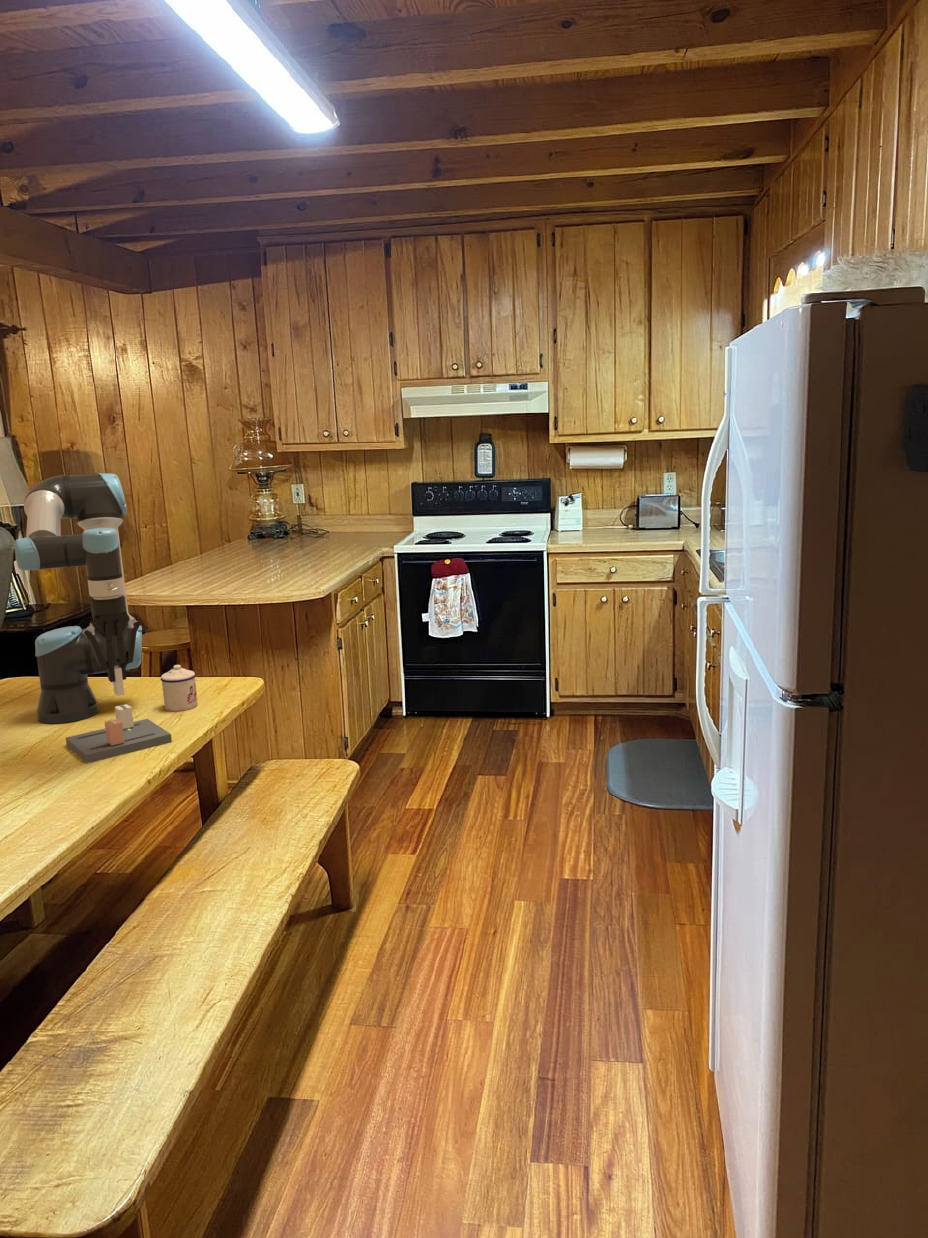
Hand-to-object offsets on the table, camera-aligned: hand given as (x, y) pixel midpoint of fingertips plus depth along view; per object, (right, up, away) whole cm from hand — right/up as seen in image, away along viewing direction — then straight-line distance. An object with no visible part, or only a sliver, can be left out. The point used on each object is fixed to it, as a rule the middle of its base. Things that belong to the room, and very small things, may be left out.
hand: (119, 693), depth 212 cm
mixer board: (-3, -13, +6) cm, 14 cm away
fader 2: (-3, -9, +12) cm, 15 cm away
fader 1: (-1, -12, +1) cm, 12 cm away
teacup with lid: (+4, -6, +35) cm, 36 cm away
